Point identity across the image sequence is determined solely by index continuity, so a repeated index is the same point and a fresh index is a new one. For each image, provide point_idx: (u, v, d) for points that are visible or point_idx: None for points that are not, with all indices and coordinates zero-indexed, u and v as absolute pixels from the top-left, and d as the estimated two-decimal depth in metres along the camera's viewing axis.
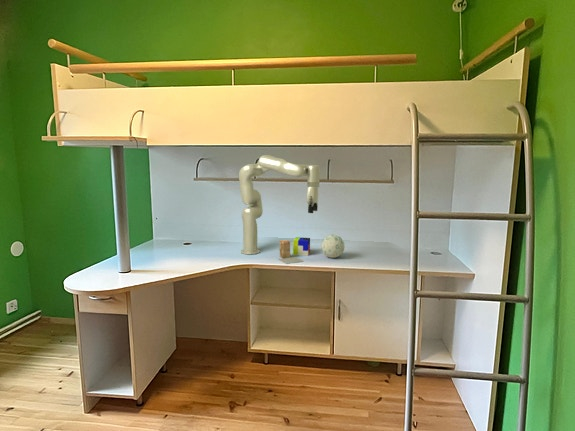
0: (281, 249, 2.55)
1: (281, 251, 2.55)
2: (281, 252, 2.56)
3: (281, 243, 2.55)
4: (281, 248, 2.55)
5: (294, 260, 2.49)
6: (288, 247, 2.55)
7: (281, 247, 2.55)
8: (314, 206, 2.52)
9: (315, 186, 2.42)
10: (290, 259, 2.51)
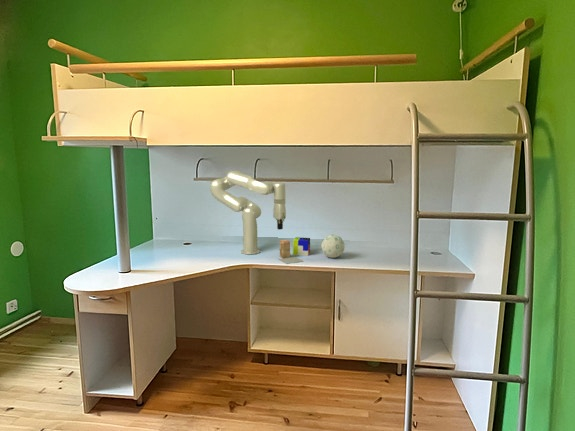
0: (281, 249, 2.55)
1: (281, 251, 2.55)
2: (281, 252, 2.56)
3: (281, 243, 2.55)
4: (281, 248, 2.55)
5: (294, 260, 2.49)
6: (288, 247, 2.55)
7: (281, 247, 2.55)
8: None
9: (284, 203, 2.57)
10: (290, 259, 2.51)
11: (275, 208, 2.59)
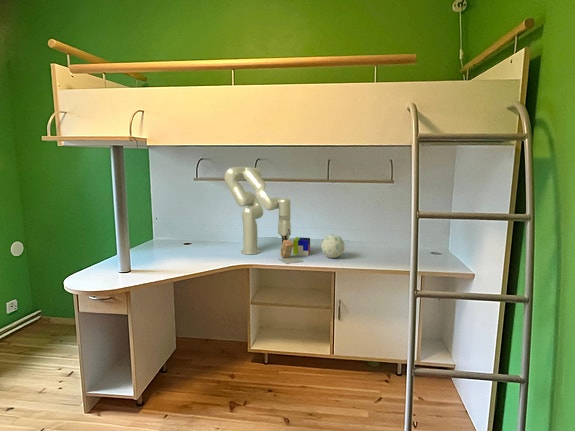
0: (283, 249, 2.53)
1: (283, 251, 2.54)
2: (282, 252, 2.54)
3: (284, 244, 2.51)
4: (283, 248, 2.53)
5: (294, 260, 2.49)
6: (290, 249, 2.52)
7: (283, 247, 2.52)
8: None
9: (289, 219, 2.53)
10: (290, 259, 2.51)
11: (280, 224, 2.54)
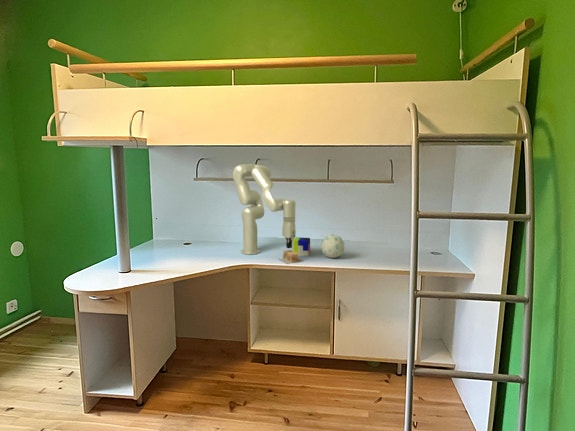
0: (287, 256, 2.49)
1: (286, 256, 2.50)
2: (285, 255, 2.51)
3: (290, 257, 2.45)
4: (287, 256, 2.48)
5: None
6: None
7: (288, 256, 2.48)
8: None
9: (294, 221, 2.47)
10: None
11: (284, 226, 2.48)
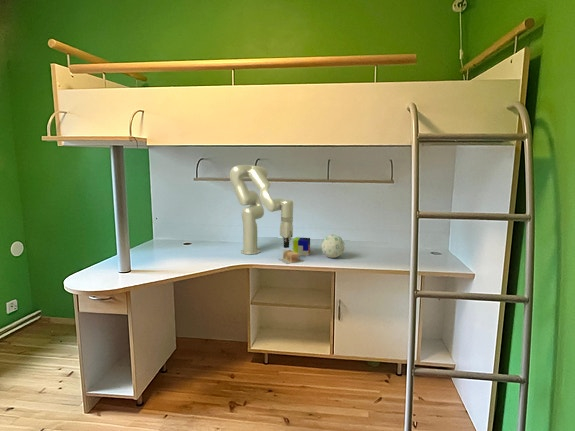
0: (287, 256, 2.49)
1: (286, 256, 2.50)
2: (285, 255, 2.51)
3: (290, 257, 2.45)
4: (287, 256, 2.48)
5: None
6: None
7: (288, 256, 2.48)
8: None
9: (292, 221, 2.50)
10: None
11: (282, 226, 2.51)
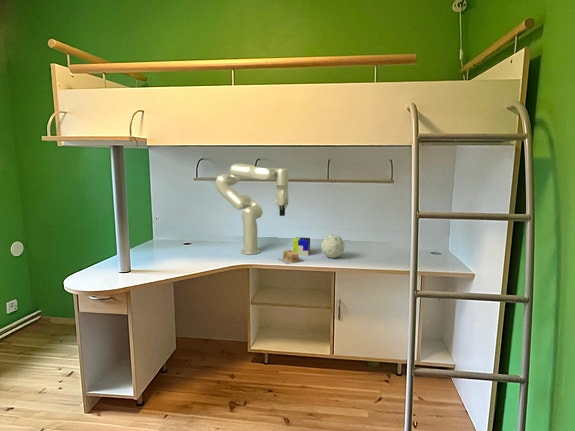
0: (287, 256, 2.49)
1: (286, 256, 2.50)
2: (285, 255, 2.51)
3: (290, 257, 2.45)
4: (287, 256, 2.48)
5: None
6: None
7: (288, 256, 2.48)
8: None
9: (287, 188, 2.52)
10: None
11: (277, 194, 2.54)
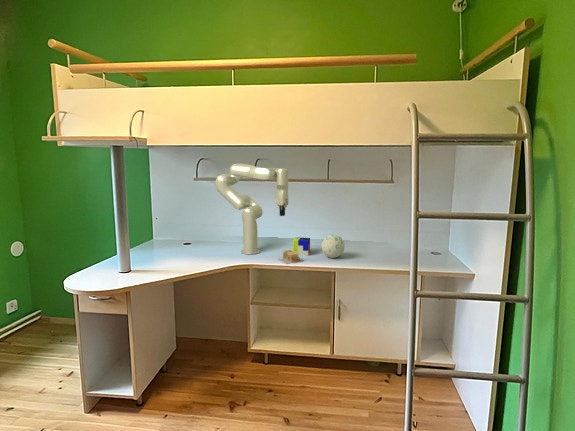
0: (287, 256, 2.49)
1: (286, 256, 2.50)
2: (285, 255, 2.51)
3: (290, 257, 2.45)
4: (287, 256, 2.48)
5: None
6: None
7: (288, 256, 2.48)
8: None
9: (287, 188, 2.52)
10: None
11: (277, 194, 2.54)
